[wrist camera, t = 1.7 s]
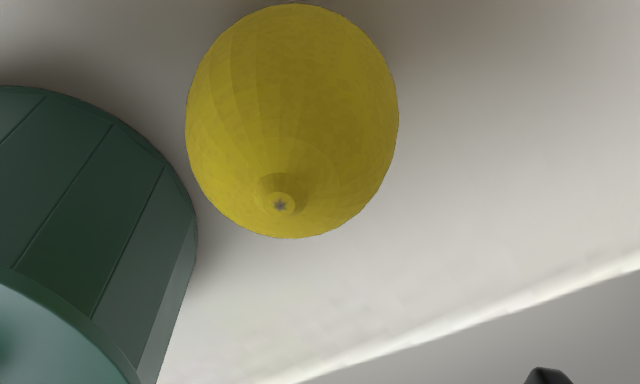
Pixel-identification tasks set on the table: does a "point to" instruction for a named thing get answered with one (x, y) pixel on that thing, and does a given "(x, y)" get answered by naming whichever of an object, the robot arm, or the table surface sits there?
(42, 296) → the pot lid
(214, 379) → the table surface
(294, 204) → the lemon
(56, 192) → the pot
